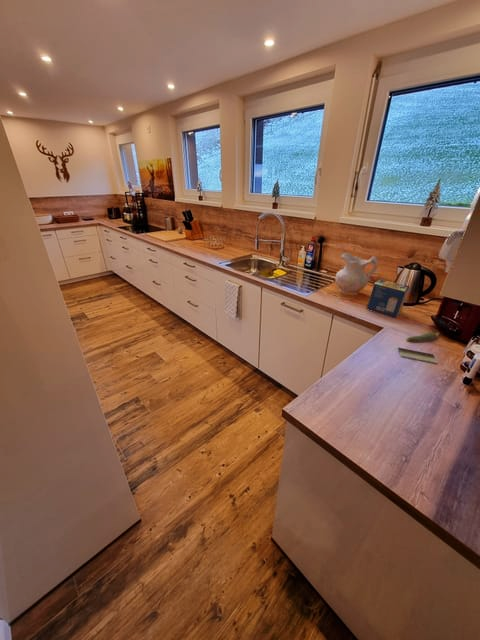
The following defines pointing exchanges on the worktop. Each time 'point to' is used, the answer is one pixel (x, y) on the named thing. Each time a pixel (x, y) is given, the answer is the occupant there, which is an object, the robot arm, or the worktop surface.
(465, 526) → the worktop surface
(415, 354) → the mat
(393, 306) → the protein box
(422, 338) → the vegetable
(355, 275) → the ceramic pitcher
